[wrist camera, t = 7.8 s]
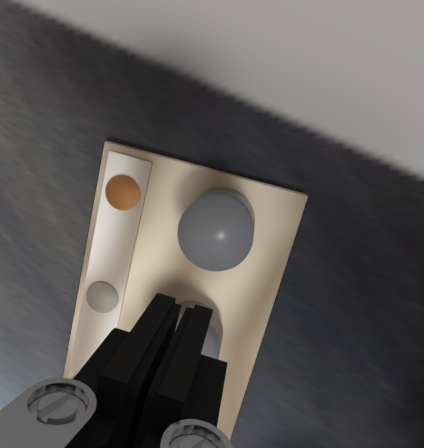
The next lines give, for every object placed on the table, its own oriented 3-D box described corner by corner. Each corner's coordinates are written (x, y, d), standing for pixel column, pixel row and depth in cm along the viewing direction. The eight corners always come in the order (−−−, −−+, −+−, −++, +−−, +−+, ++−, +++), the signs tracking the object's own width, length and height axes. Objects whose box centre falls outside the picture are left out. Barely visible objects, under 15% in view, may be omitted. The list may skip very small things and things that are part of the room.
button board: (306, 194, 26) (308, 197, 25) (224, 450, 32) (222, 466, 30) (110, 141, 27) (101, 141, 26) (63, 400, 33) (54, 412, 31)
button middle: (230, 311, 26) (224, 341, 23) (214, 365, 28) (206, 403, 24) (168, 293, 27) (153, 320, 23) (155, 348, 28) (138, 382, 24)
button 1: (262, 197, 25) (263, 209, 21) (245, 258, 26) (241, 280, 23) (198, 179, 26) (186, 188, 22) (183, 241, 27) (169, 259, 23)
